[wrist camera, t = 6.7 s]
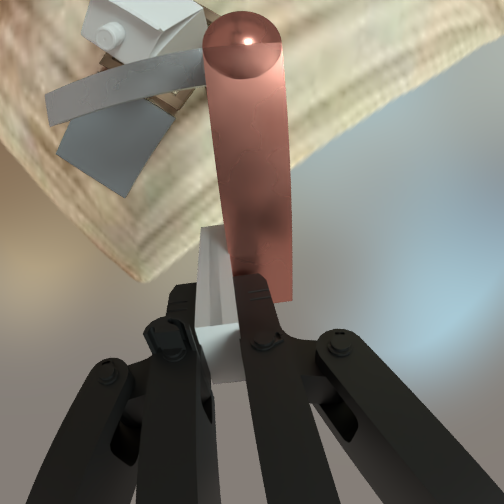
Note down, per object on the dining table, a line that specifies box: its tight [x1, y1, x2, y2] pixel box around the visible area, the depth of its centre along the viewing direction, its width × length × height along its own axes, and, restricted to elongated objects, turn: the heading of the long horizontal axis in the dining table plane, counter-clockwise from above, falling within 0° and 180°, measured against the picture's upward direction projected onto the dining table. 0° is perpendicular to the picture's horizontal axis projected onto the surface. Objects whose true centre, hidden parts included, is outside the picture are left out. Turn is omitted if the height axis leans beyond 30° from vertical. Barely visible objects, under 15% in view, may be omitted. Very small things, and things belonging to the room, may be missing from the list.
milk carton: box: [81, 0, 208, 64], centre depth 19 cm, size 7×7×19 cm
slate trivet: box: [56, 72, 176, 198], centre depth 32 cm, size 13×13×1 cm
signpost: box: [45, 11, 292, 303], centre depth 20 cm, size 12×12×27 cm
